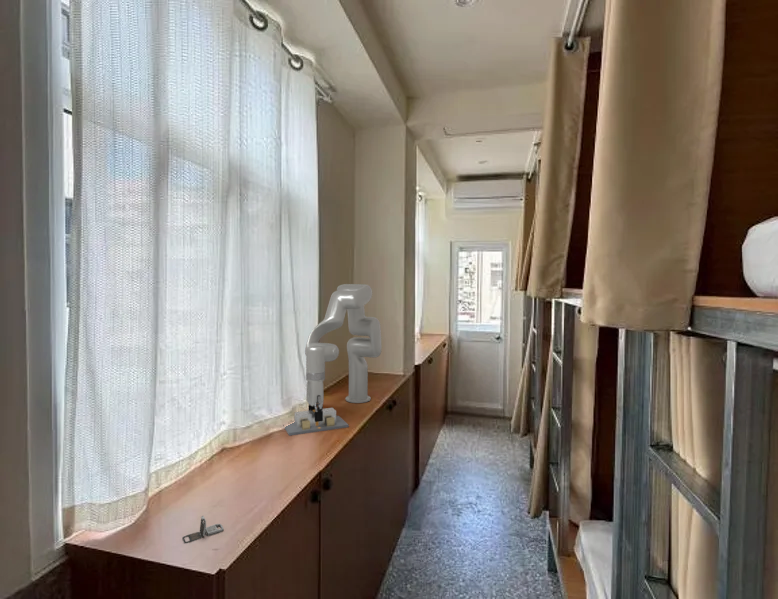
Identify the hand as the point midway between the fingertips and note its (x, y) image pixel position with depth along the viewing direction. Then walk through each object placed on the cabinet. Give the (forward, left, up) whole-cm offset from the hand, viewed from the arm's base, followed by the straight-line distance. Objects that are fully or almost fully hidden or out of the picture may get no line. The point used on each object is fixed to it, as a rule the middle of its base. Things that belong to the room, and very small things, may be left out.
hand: (315, 417), depth 170 cm
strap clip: (+62, -43, -4) cm, 76 cm away
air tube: (0, 0, -2) cm, 2 cm away
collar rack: (0, 0, -3) cm, 3 cm away
